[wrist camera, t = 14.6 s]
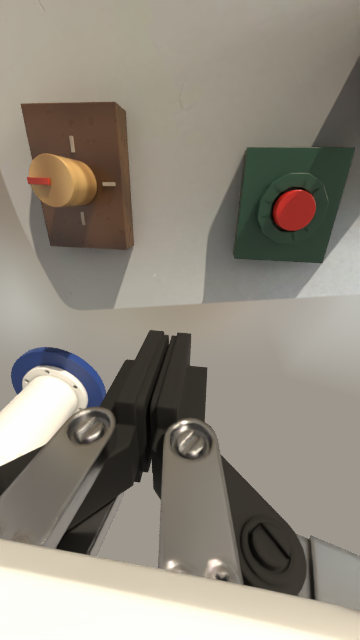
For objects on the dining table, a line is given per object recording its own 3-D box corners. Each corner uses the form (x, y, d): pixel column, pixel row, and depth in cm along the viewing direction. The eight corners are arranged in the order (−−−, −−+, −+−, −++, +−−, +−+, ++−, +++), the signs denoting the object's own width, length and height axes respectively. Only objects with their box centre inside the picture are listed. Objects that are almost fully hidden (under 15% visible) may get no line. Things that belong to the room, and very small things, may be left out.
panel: (134, 245, 33) (126, 250, 30) (63, 241, 34) (49, 246, 31) (125, 110, 26) (114, 100, 24) (39, 112, 28) (19, 102, 25)
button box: (316, 258, 30) (328, 267, 27) (233, 254, 32) (234, 262, 28) (345, 151, 25) (365, 143, 22) (245, 150, 26) (249, 144, 23)
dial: (94, 160, 26) (67, 153, 22) (99, 206, 28) (75, 208, 24) (55, 159, 27) (21, 152, 22) (63, 204, 29) (32, 206, 24)
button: (305, 229, 26) (310, 231, 24) (269, 228, 26) (272, 230, 25) (314, 190, 24) (320, 190, 23) (276, 189, 25) (280, 189, 23)
